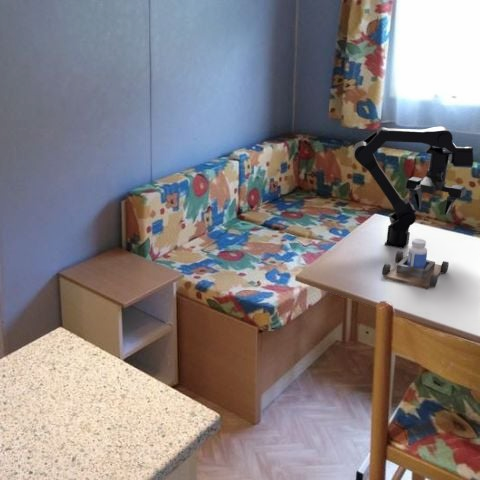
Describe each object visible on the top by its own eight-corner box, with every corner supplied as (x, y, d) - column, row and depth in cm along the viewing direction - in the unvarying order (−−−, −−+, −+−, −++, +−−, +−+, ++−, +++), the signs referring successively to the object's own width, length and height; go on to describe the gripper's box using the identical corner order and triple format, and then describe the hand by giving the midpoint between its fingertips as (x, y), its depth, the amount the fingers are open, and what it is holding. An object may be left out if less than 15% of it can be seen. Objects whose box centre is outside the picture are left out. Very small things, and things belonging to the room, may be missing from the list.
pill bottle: (427, 270, 207) (432, 241, 204) (419, 275, 203) (423, 245, 200) (412, 265, 211) (415, 236, 207) (403, 270, 207) (406, 240, 203)
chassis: (380, 277, 204) (381, 266, 202) (399, 258, 218) (400, 248, 217) (432, 290, 196) (433, 279, 195) (448, 269, 211) (450, 259, 209)
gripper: (401, 166, 218) (396, 212, 224) (457, 176, 208) (451, 224, 214) (414, 160, 227) (409, 204, 232) (469, 169, 217) (463, 215, 222)
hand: (432, 212), depth 225 cm, fingers open, 9 cm apart
